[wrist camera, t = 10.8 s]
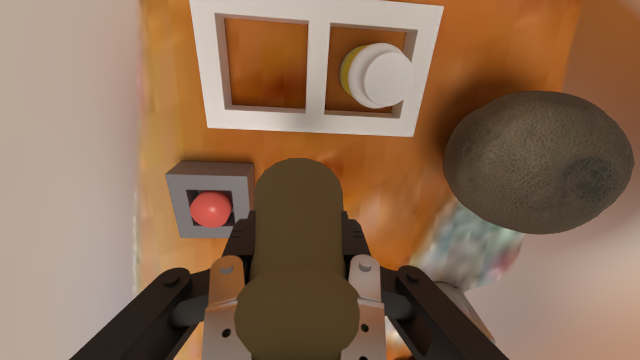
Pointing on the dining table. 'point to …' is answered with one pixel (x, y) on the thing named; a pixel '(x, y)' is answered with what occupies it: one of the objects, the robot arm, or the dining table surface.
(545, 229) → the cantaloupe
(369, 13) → the window frame
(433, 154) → the dining table surface
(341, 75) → the supplement bottle
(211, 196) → the button
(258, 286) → the olive gourd
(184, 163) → the button housing
